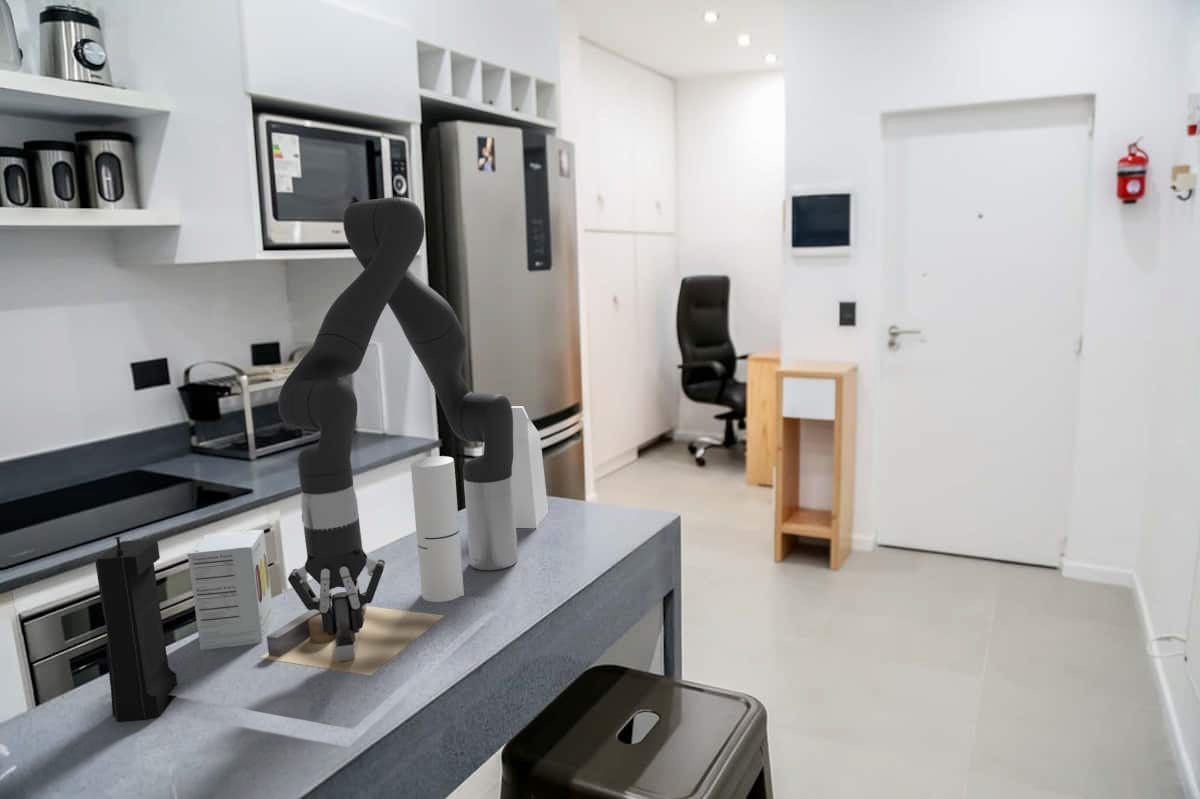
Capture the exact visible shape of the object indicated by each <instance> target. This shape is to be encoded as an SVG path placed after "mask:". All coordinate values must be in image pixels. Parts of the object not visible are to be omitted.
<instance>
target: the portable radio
mask: <svg viewBox="0 0 1200 799" xmlns="http://www.w3.org/2000/svg"><path fill="white" fill-rule="evenodd" d="M114 539H115V540H116V543H117V544H116V545H115V546H113V547H112V548H110V549H109V550H108V551H106V552H105V553H103V554H102V555H100V556H98V558H97V559H96V561H95V569H96V576H97V581H98V582H97V583H98V587H99V596H100V603H101V609H102V616H103V618H104V625H105V630H106V631H105V632H106V637H107V644H105V647H106V648H105V649H106V658H107V666H108V674H109V675H108V676H109V684H110V694H111V695H110V696H111V697H110V698H111V710H112V712H111V714H112V715H111V716H112V717H113V718H115V721H116V722H127V721H139V720H146V719H151V718H155V717H159V716H161V715H162V714H163V713H164V712H165V711H166V709H167V708H168V707H169V706H170V704H171V703H172V702H173V701H174V699H175V698H176V697H177V695H172V694H171V692H172V691H173V690H174V689H175V688H176V687H177V685H178V680H177V673H176V672H175V671H173V670H171V668H170V667H169V662H168V661H169V660H168V654H167V648H166V647H167V646H166V641H165V640H166V639H165V634H164V627H163V619H162V613H161V611H162V610H161V606H160V605H161V604H160V597H159V592H158V584H157V578H156V570H155V569H156V568H155V563H156V562H158V561H159V560H161V557H160V556H161V555H160V549H159V542H158V540H154V539H139V540H122V541H120V539H121V536H116V537H114Z"/></svg>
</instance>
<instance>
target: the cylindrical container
mask: <svg viewBox="0 0 1200 799" xmlns="http://www.w3.org/2000/svg"><path fill="white" fill-rule="evenodd" d="M455 472H456V470H455V460H454V458H453V457H451V456H445V455H441V456H440V455H439V456H438V455H437V456H427V457H426V456H425V457H420V458H417V459H414V460H412V461H410V473H411V483H412V484H411V485H412V497H413V505H414V506H413V508H414V520H415V530H416V542H417V554H418V566H419V567H418V568H419V575H420V576H419V577H420V588H421V589H420V593H421V598H422V599H423V600H424V601H427V602H431V603H441V602H442V603H443V602H450V601H452V600H455V599H458V598H460V597H461V596H463V597H464V596H465V592H464V591H465V590H464V589H465V587H464V578H463V576H464V575H463V567H462V566H463V562H462V551H461V549H462V548H461V538H460V523H459V511H458V498H457V485H456V483H457V482H456V473H455Z"/></svg>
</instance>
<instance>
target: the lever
mask: <svg viewBox="0 0 1200 799" xmlns="http://www.w3.org/2000/svg"><path fill="white" fill-rule="evenodd" d="M366 606H367V604H364V605H363V613H364V612H365V611H366ZM331 607H332V613H333V622H334V632H335V641H336V644H337V645H336V650H337V660H338V661H343V660H350V659H355V655H356V649H357V643H358V636H359V633H353V625H352V616H351V608H352V606H351V603H350V599H349V596H348V595H347V593H346V591H341V592H336V593H334V594H331Z"/></svg>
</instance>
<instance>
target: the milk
mask: <svg viewBox="0 0 1200 799" xmlns="http://www.w3.org/2000/svg"><path fill="white" fill-rule="evenodd" d="M511 407H512V413H513V452H514V453H513V463H512V482H513V497H514V510H515V518H516V528H537V527H538V528H539V526H540V525H541V524H540V522H541V521H542V520H543V519H545V518H546V517H547V516H546V514H547V513H548V514H549V506H548V497H547V496H548V495H547V487H546V477H545V468H544V461H543V450H542V442H541V440H542V439H541V436H540V433H539V431H538V429H537V427H536V426H535V425H534V423H533V422H532V420H531V419H530V417H529V416H528V413H527V411H526V409H525V407H524V406H522V405H521V406H519V405H518V406H517V405H516V406H512V405H511ZM481 447H482V448H481V456H482V455H483V454H484V442H482V446H481ZM548 514H547V515H548ZM545 516H546V517H545ZM544 517H545V518H544ZM543 521H544V520H543ZM543 521H542V522H543ZM542 522H541V523H542ZM539 524H540V525H539ZM538 525H539V526H538ZM538 528H537V529H538Z"/></svg>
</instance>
